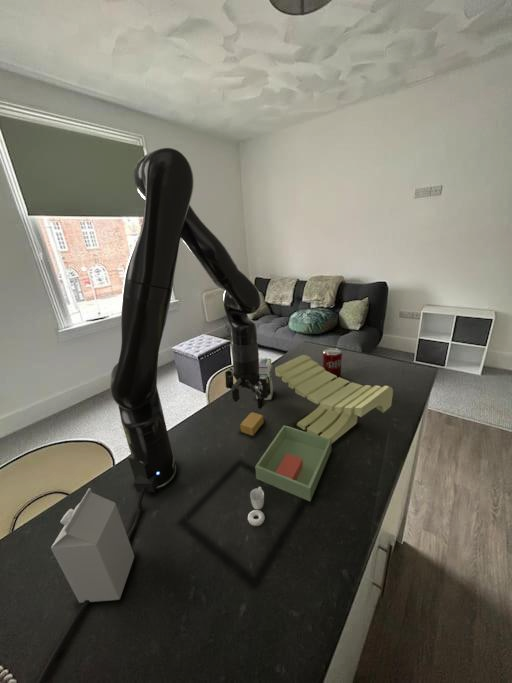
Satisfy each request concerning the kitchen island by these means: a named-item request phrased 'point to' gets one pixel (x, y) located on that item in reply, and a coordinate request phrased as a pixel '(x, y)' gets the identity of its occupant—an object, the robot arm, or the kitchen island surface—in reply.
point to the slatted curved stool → (331, 397)
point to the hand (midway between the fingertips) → (248, 403)
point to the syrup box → (266, 373)
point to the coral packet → (290, 467)
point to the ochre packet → (251, 423)
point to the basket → (298, 445)
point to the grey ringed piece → (256, 507)
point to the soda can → (332, 361)
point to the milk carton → (94, 549)
